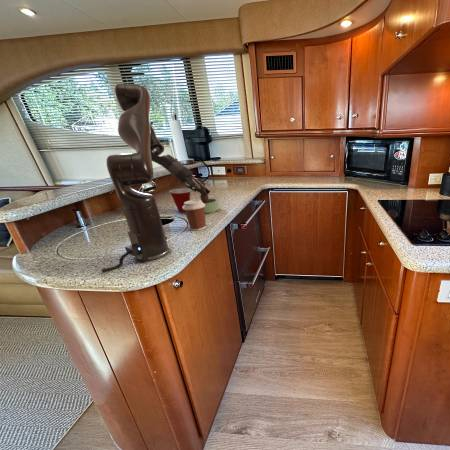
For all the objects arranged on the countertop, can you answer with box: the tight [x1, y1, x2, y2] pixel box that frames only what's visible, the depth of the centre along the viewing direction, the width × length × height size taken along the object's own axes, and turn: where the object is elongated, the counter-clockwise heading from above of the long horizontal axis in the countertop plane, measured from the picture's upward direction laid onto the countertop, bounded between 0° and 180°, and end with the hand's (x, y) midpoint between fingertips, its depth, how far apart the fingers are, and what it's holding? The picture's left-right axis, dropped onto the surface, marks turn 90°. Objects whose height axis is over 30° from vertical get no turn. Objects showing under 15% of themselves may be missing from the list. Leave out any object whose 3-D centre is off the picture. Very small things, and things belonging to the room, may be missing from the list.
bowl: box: [204, 197, 220, 215], centre depth 130 cm, size 13×13×6 cm
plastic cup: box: [168, 188, 192, 213], centre depth 131 cm, size 11×11×12 cm
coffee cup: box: [182, 199, 207, 232], centre depth 103 cm, size 9×9×12 cm
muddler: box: [199, 185, 210, 204], centre depth 128 cm, size 4×4×10 cm
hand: (207, 193), depth 127 cm, fingers closed on muddler, 4 cm apart
